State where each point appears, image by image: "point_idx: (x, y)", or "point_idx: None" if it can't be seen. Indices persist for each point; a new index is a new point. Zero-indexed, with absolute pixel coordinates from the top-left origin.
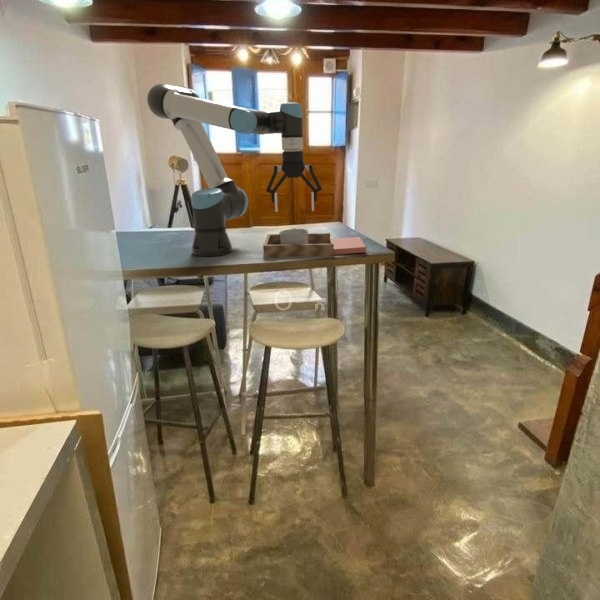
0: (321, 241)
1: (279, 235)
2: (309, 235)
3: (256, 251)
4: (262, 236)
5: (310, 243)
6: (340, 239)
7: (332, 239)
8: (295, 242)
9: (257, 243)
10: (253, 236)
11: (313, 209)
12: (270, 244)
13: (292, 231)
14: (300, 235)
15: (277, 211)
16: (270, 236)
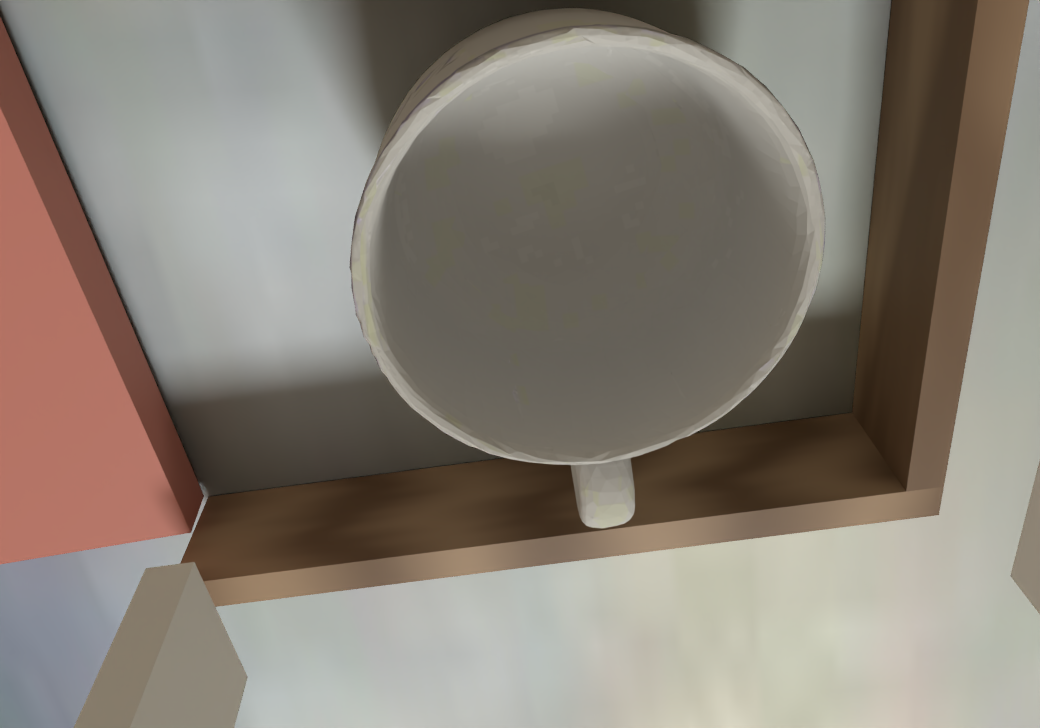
0: (293, 507)
1: (787, 498)
2: (422, 540)
3: (1032, 148)
4: (924, 715)
5: (416, 479)
6: (50, 508)
7: (154, 517)
8: (525, 19)
9: (990, 490)
10: (1008, 710)
11: (145, 590)
12: (862, 401)
13: (623, 426)
14: (444, 83)
15: (1029, 502)
16: (894, 478)
